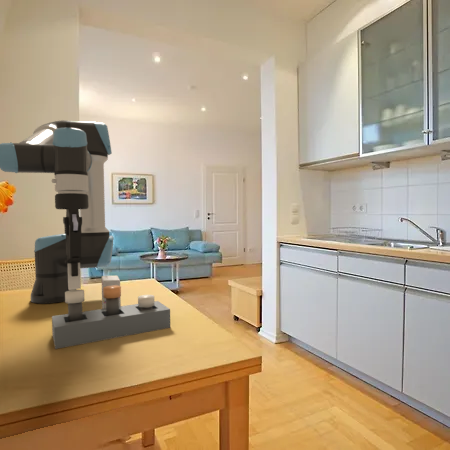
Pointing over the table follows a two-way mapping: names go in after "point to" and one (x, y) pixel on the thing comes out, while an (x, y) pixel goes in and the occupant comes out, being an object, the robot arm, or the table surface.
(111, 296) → the knob middle
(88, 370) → the table surface
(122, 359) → the table surface
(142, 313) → the board
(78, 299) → the knob
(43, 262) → the robot arm
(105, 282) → the ink box
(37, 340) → the table surface
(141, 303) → the knob
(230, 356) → the table surface
